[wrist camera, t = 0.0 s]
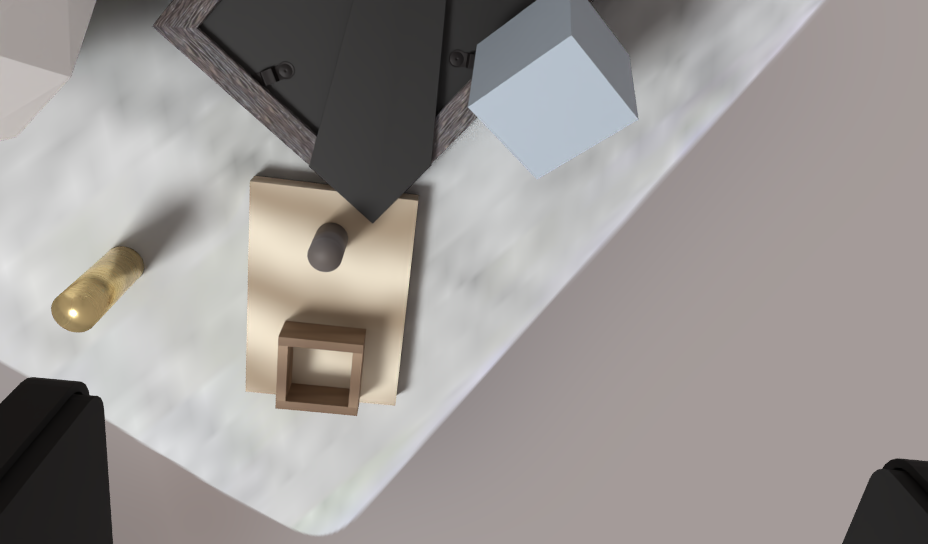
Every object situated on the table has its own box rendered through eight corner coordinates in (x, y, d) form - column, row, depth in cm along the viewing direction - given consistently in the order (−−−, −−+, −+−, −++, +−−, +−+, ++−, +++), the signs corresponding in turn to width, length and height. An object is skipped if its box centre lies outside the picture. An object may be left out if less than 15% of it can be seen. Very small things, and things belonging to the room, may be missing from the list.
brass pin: (103, 244, 46) (49, 290, 40) (143, 248, 46) (95, 295, 40) (106, 279, 47) (53, 330, 41) (144, 283, 47) (98, 334, 41)
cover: (638, 119, 35) (571, 34, 32) (537, 179, 38) (467, 107, 35) (629, 55, 39) (569, -25, 36) (538, 113, 42) (477, 44, 40)
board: (254, 175, 45) (237, 196, 41) (418, 195, 46) (416, 216, 42) (250, 381, 50) (234, 417, 46) (396, 395, 51) (392, 431, 47)
